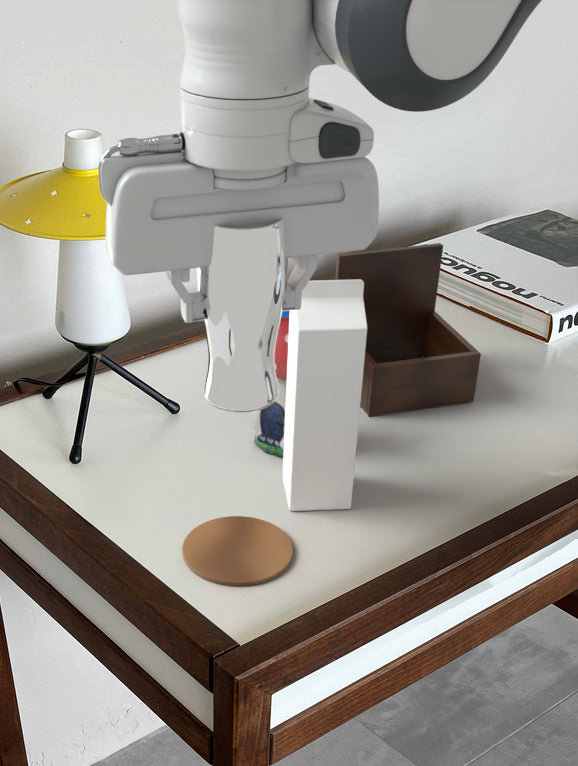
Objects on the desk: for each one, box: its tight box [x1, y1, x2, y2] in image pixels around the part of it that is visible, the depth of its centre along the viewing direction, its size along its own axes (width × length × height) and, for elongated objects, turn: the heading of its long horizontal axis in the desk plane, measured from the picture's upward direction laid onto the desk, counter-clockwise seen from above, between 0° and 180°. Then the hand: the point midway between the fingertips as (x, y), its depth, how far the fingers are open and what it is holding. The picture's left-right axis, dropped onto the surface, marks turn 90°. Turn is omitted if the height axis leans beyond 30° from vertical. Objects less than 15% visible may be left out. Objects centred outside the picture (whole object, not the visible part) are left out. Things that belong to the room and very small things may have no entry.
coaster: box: [181, 515, 294, 587], centre depth 92 cm, size 10×10×1 cm
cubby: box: [334, 242, 482, 417], centre depth 114 cm, size 13×13×14 cm
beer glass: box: [195, 218, 289, 414], centre depth 78 cm, size 7×7×15 cm
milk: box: [282, 279, 367, 512], centre depth 93 cm, size 6×6×22 cm
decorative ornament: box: [250, 317, 289, 459], centre depth 103 cm, size 9×6×15 cm
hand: (241, 313), depth 78 cm, fingers closed on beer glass, 6 cm apart
